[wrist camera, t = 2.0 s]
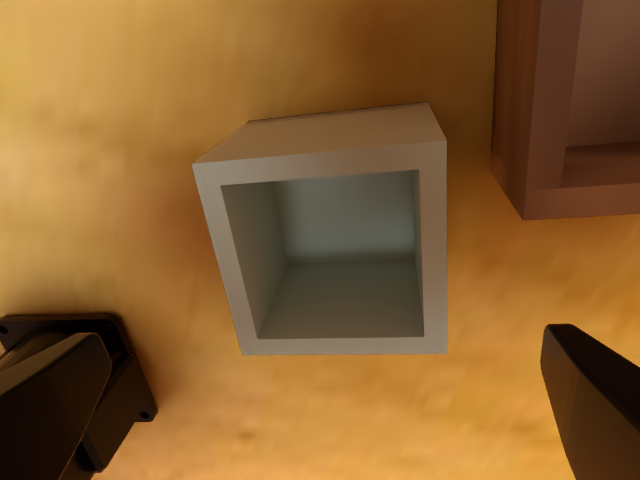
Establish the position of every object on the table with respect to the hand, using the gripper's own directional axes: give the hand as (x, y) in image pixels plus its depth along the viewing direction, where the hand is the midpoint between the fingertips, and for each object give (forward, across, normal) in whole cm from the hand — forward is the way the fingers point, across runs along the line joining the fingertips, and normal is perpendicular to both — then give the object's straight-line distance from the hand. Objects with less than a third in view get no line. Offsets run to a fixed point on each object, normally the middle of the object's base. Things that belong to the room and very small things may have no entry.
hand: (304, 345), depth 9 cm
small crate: (+8, 0, 0) cm, 8 cm away
